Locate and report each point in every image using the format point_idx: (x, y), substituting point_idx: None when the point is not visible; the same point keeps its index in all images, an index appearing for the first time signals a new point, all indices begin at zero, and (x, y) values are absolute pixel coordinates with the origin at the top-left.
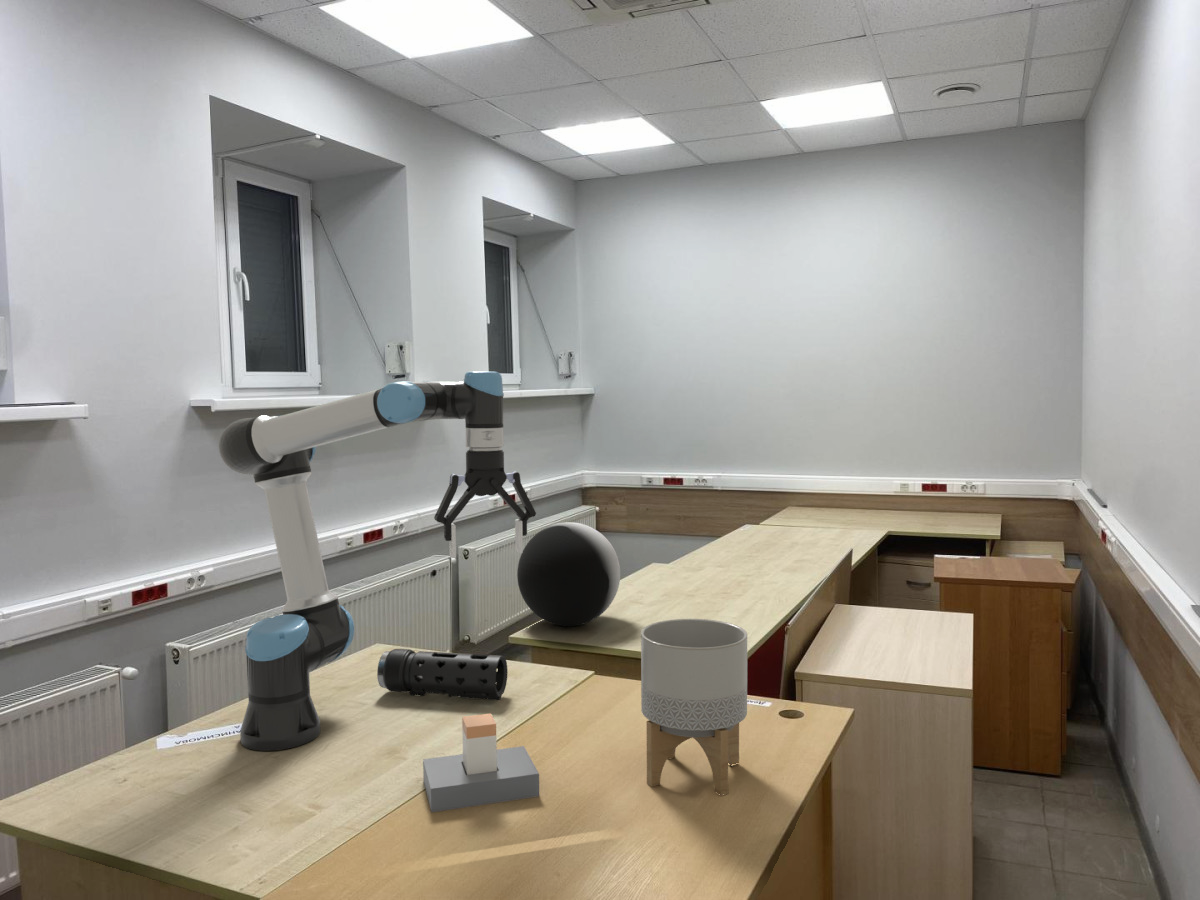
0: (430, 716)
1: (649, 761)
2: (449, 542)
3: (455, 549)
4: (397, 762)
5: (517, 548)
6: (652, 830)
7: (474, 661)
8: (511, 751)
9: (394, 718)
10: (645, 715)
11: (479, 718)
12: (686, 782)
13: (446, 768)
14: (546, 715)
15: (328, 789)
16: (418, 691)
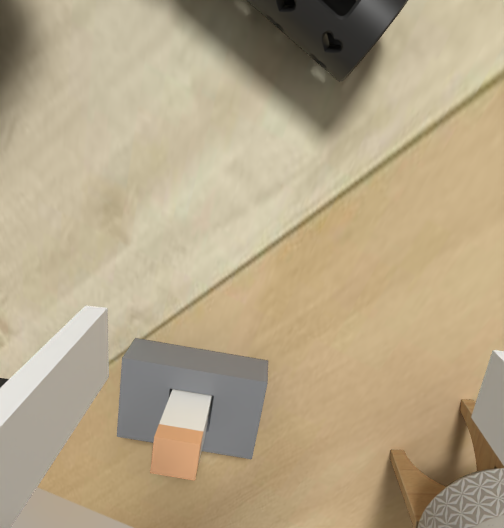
0: (202, 74)
1: (398, 480)
2: (43, 348)
3: (86, 406)
4: (113, 248)
5: (491, 400)
6: (332, 525)
7: (315, 12)
8: (244, 390)
9: (135, 49)
10: (419, 524)
11: (177, 454)
12: (434, 467)
13: (146, 397)
14: (398, 178)
15: (16, 288)
16: None
